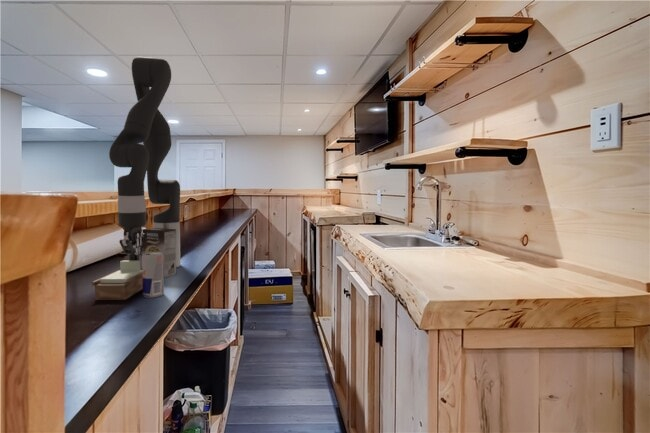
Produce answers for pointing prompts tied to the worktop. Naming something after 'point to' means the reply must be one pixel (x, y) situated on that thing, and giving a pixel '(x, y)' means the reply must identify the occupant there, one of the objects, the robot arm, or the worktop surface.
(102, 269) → the worktop surface
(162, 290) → the energy drink
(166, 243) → the coffee box
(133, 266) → the lid
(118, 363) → the worktop surface
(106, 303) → the worktop surface
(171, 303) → the worktop surface
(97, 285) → the walnut box
